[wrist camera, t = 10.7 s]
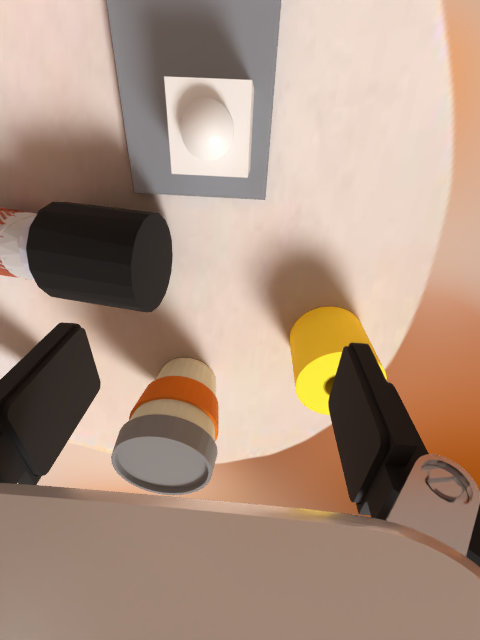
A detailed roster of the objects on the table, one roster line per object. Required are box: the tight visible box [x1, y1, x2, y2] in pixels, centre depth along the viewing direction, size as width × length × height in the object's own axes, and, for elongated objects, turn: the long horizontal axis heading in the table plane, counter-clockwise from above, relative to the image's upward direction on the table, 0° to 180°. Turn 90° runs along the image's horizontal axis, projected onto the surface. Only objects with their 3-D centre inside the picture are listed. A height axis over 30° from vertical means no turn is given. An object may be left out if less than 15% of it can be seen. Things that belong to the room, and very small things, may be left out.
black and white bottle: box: [0, 202, 172, 312], centre depth 33 cm, size 10×34×10 cm
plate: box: [106, 0, 281, 200], centre depth 27 cm, size 20×14×1 cm
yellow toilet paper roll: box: [290, 306, 387, 415], centre depth 38 cm, size 10×10×9 cm
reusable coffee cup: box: [111, 358, 218, 495], centre depth 42 cm, size 13×12×15 cm
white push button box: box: [164, 76, 254, 178], centre depth 25 cm, size 6×6×7 cm
